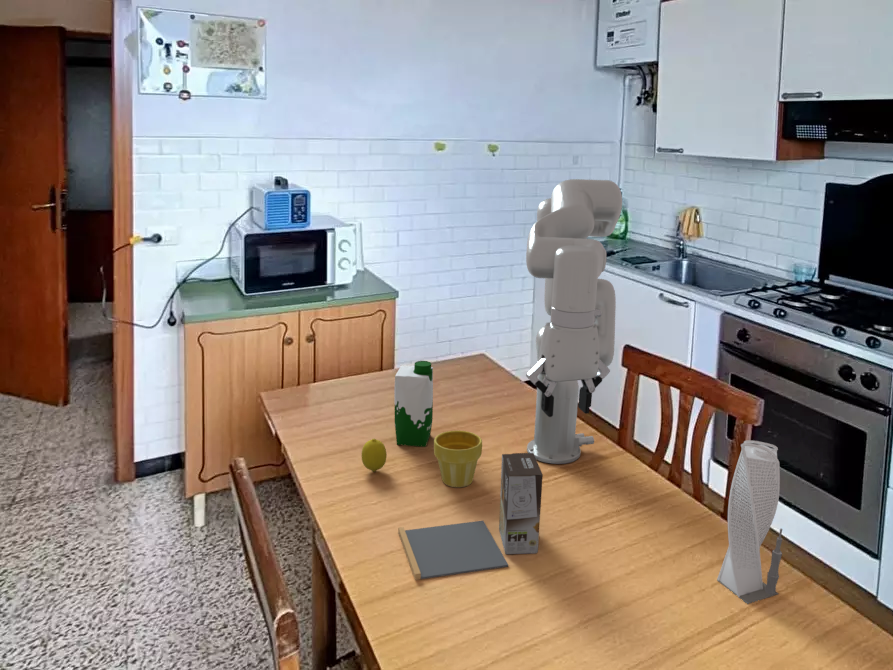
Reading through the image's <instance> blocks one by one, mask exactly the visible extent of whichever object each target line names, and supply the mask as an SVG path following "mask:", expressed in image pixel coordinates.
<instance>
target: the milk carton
mask: <svg viewBox="0 0 893 670" xmlns="http://www.w3.org/2000/svg"><path fill="white" fill-rule="evenodd" d="M433 399H434V367H433V366H432V362H430V361H428V360H418V361H415V362H414V364H411V365H405V364H404V365H403V364H402V365H400V367H399V369H398V370H397V372H396V374H395V376H394V430H395V437H396V439H395V440H396V445H397V446H408V447H422V448H426V447H427V445H428V442H429V439H430V437H431V432H432V425H433V410H434V409H433V408H434V407H433V405H434V404H433V402H434V400H433Z"/></svg>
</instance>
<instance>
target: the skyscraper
mask: <svg viewBox="0 0 893 670" xmlns="http://www.w3.org/2000/svg"><path fill="white" fill-rule="evenodd" d="M740 447H741V451H740V454H739V457H738V460H737V463H736V466H735V470H734V473H733V477H732V481H731V485H730V490H729V496H728V497H729V498H728V506H727V537H728V547H727V550H726V553H725V556H724V559H723V562H722V564H721V567H720V570H719V573H718V575H717V578H716V581H717V582H719V584H721V585H722V586H724V588H726V589H727V590H728V589H729V590H728V591H730V592H731V591H732V592H733V593H732V592H731V593H732V594H734V595H735V596H736V595H737V596H738V599H740V600H741V599H742V600H743V601H742V600H741V601H742V602H744V603H745V604H746V603H747V604H746V605H750V604H753V603H756V602H758V600H759V601H762V600H765V599H768V598H771V597H774V596H776V595H777V596H778V595H779V592H777V588H776V587H777V585H778V581H779V577H780V575H779V567H780V564H781V563H780V562H781V559H782V556H783V552H782V551H781V547H782V546H781V545H782V542H783V538H782V534H783V528H779V533H778V536H777V537H776V545H775V549H772V551H771V559H770V567H769V570H768V572H767V575H766V576H767V577H766V579H767V580H766V583H765V582H764V581H763V572H762V562H761V561H762V560H761V550H760V549H761V546H762V544H763V542H764V541H765V538H766V536H767V535H768V533H769V530H770V529H771V526H772V524H773V521H774V519H775V516H776V512H777V509H778V505H779V498H780V485H781V483H780V482H781V476H780V475H781V474H780V473H781V470H780V468H781V467H780V461H779V459H778V450H779V449H778V447H777V446H776V445H775V444H772V443H768V442H763V441H759V440H750V439H748V440H744V441H743V443H740ZM737 596H736V597H737ZM755 601H756V602H755ZM752 602H753V603H752ZM749 603H750V604H749Z"/></svg>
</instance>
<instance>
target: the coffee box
mask: <svg viewBox="0 0 893 670" xmlns="http://www.w3.org/2000/svg"><path fill="white" fill-rule="evenodd" d="M543 476H544V474H543V472H542V470H541V468H540V465H539V464H538V460H536V458H535V455H534V453H528V452H519V453H518V452H515V453H502V455H501V472H500V495H499V497H500V500H499V502H500V503H499V521H498V522H499V523H498V531H499V535H500V539H501V542H502V546H503V550H504V554H505V555H520V554H521V555H522V554H523V555H524V554H538V551H539V541H540V540H539V539H540V538H539V537H540V526H541V525H540V522H541V521H540V520H541V510H542V509H541V507H542V493H543V492H542V491H543Z"/></svg>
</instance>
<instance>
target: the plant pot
mask: <svg viewBox="0 0 893 670" xmlns="http://www.w3.org/2000/svg"><path fill="white" fill-rule="evenodd" d="M482 451H483V440H482V437H480V436H479V435H478V434H476V433H474V432H471V431H466V430H448V431H443V432H440V433H439V434H437V435H436V436H435V437H434V439H433V454H434V457H435V458H436V459H437V462H438V467H439V472H440V475H441V480H442V482H443V484H445V485H446V486H449V487H452V488H464V487H468V486H470V485H471V484H472V483H473V480H474V476H475V473H476V469H477V464H478V460H479V459H480V458H481V457H482Z"/></svg>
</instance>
